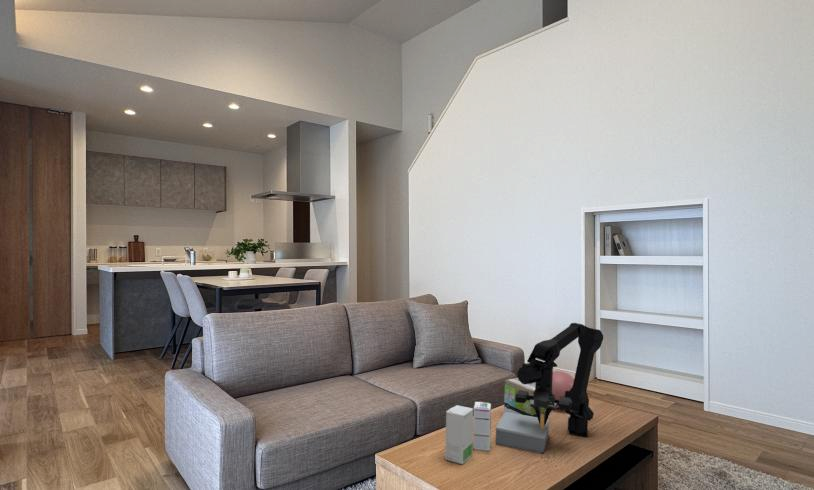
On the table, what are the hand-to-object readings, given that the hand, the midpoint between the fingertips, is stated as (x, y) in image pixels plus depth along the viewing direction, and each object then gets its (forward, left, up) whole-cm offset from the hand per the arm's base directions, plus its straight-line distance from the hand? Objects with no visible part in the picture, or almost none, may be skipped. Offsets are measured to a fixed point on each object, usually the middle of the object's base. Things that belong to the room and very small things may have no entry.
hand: (542, 424), depth 160 cm
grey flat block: (+7, 0, -7) cm, 9 cm away
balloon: (-4, -39, -7) cm, 40 cm away
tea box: (+9, -20, -7) cm, 23 cm away
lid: (+6, 0, -2) cm, 7 cm away
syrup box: (+19, +12, -7) cm, 23 cm away
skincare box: (+24, +23, -7) cm, 34 cm away
